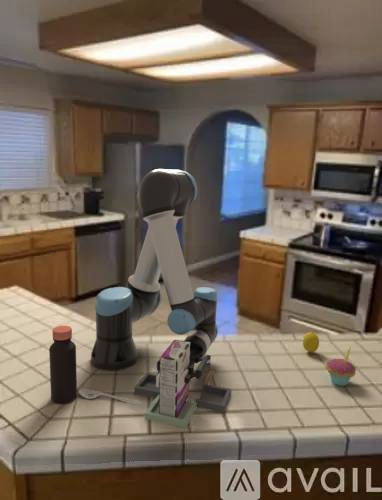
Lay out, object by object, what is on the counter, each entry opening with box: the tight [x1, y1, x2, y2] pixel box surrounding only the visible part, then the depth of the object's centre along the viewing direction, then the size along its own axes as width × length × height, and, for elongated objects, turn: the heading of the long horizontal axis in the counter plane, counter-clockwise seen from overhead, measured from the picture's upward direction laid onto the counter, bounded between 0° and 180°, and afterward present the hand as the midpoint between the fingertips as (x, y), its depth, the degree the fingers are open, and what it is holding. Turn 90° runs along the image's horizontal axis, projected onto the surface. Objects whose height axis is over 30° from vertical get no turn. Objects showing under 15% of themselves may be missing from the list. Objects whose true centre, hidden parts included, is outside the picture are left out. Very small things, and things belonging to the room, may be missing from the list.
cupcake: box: [325, 346, 357, 386], centre depth 121 cm, size 9×8×12 cm
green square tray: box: [144, 394, 198, 429], centre depth 104 cm, size 11×11×2 cm
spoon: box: [78, 388, 140, 405], centre depth 109 cm, size 4×21×2 cm, turn 78°
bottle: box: [48, 325, 78, 405], centre depth 107 cm, size 7×7×20 cm
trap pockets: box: [133, 372, 232, 414], centre depth 112 cm, size 26×9×2 cm, turn 72°
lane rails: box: [201, 369, 215, 391], centre depth 121 cm, size 11×10×2 cm
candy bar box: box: [159, 339, 190, 418], centre depth 104 cm, size 11×5×16 cm, turn 163°
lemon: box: [302, 331, 320, 354], centre depth 141 cm, size 6×6×8 cm
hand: (168, 384), depth 99 cm, fingers closed on candy bar box, 5 cm apart
